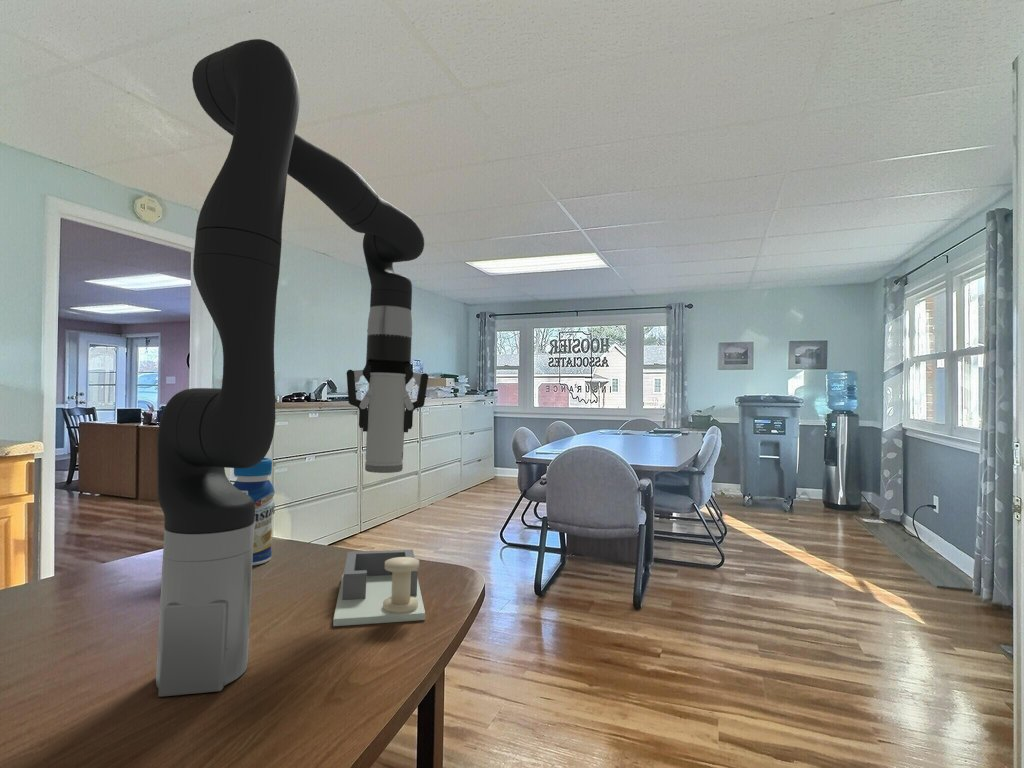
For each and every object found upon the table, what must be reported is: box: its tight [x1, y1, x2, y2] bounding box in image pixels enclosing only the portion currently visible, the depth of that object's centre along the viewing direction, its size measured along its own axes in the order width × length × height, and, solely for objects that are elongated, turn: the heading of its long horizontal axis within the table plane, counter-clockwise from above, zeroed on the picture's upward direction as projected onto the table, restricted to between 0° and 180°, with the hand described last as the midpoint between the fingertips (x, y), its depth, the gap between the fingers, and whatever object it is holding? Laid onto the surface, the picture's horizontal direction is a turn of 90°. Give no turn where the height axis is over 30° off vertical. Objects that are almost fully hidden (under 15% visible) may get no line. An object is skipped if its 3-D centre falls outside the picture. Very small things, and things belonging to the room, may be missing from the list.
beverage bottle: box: [232, 457, 276, 567], centre depth 104 cm, size 8×8×20 cm
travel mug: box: [364, 360, 407, 474], centre depth 91 cm, size 6×7×20 cm
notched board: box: [332, 549, 426, 627], centre depth 87 cm, size 20×13×8 cm, turn 14°
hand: (385, 431), depth 91 cm, fingers closed on travel mug, 6 cm apart
